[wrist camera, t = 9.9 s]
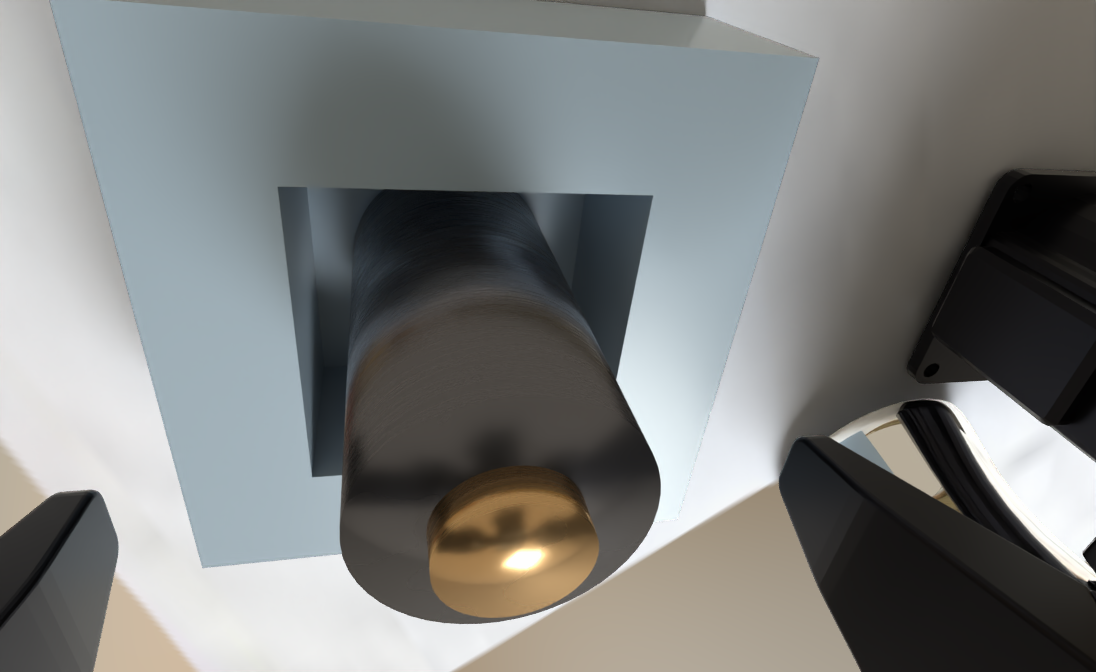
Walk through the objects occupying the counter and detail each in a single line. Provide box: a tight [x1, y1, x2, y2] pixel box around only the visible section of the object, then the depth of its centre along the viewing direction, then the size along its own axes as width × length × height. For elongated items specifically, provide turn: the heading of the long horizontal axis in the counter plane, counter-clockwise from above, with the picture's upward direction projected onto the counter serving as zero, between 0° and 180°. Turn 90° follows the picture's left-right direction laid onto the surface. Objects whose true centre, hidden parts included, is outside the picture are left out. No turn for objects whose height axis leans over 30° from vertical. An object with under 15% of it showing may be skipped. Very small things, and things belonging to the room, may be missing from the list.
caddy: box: [50, 0, 819, 568], centre depth 13 cm, size 10×10×4 cm
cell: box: [340, 189, 661, 624], centre depth 11 cm, size 4×4×8 cm
